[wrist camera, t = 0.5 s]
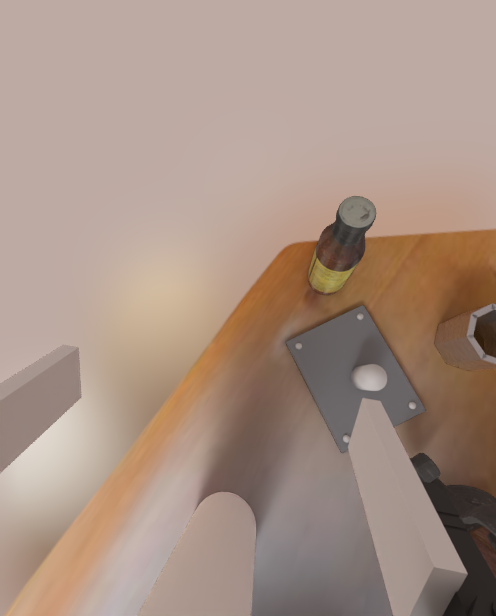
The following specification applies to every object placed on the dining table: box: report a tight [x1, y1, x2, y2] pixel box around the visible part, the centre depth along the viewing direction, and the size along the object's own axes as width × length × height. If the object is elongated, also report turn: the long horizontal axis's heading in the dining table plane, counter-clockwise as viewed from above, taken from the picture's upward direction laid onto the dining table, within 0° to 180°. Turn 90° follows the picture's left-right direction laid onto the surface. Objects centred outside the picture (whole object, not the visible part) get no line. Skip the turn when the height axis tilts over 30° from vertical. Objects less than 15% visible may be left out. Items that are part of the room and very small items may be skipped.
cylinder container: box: [137, 492, 256, 616], centre depth 29 cm, size 9×9×30 cm
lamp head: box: [434, 303, 496, 371], centre depth 44 cm, size 12×8×8 cm, turn 115°
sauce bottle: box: [308, 196, 376, 295], centre depth 42 cm, size 6×6×20 cm
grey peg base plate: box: [286, 305, 426, 453], centre depth 45 cm, size 18×14×6 cm
